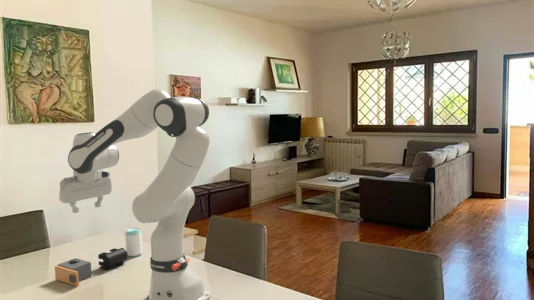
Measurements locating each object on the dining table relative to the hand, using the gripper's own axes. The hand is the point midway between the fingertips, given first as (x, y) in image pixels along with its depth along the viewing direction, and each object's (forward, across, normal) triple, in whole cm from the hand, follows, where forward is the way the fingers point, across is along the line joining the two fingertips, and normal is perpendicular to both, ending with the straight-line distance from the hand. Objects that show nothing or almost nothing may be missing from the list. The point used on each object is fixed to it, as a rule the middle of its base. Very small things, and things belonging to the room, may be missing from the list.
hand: (87, 209), depth 153 cm
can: (+30, +28, +7) cm, 42 cm away
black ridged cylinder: (+29, +14, +4) cm, 33 cm away
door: (+29, -7, +5) cm, 30 cm away
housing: (+29, -2, +6) cm, 30 cm away
